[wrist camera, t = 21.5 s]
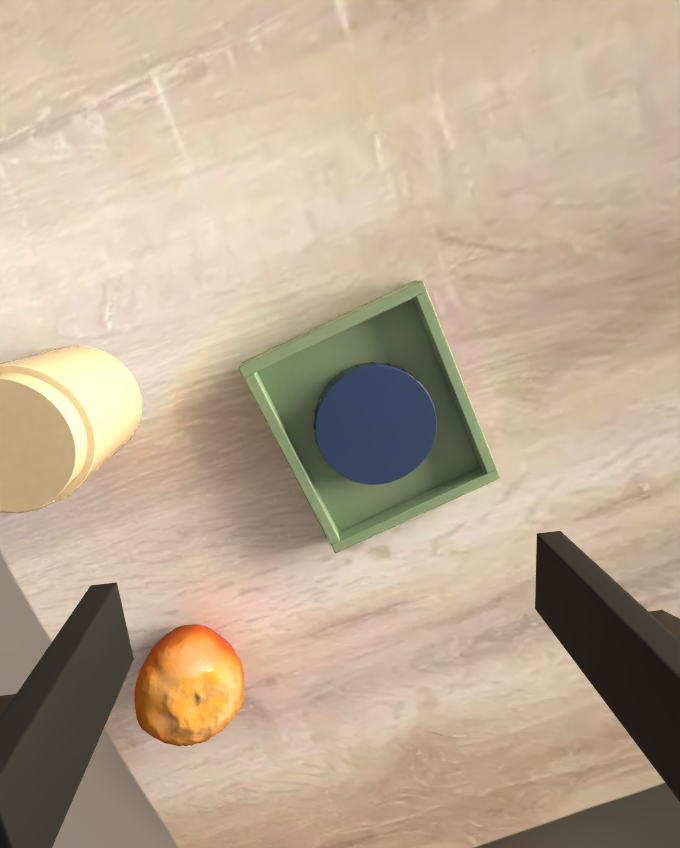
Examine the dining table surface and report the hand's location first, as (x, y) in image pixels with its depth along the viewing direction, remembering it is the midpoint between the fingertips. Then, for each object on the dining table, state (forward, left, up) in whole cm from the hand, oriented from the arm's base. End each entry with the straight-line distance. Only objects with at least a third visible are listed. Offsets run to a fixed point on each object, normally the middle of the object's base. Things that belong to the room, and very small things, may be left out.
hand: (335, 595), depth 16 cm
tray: (+2, +4, -23) cm, 23 cm away
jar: (-8, -14, -23) cm, 28 cm away
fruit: (+14, -17, -23) cm, 32 cm away
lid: (+2, +4, -21) cm, 21 cm away
